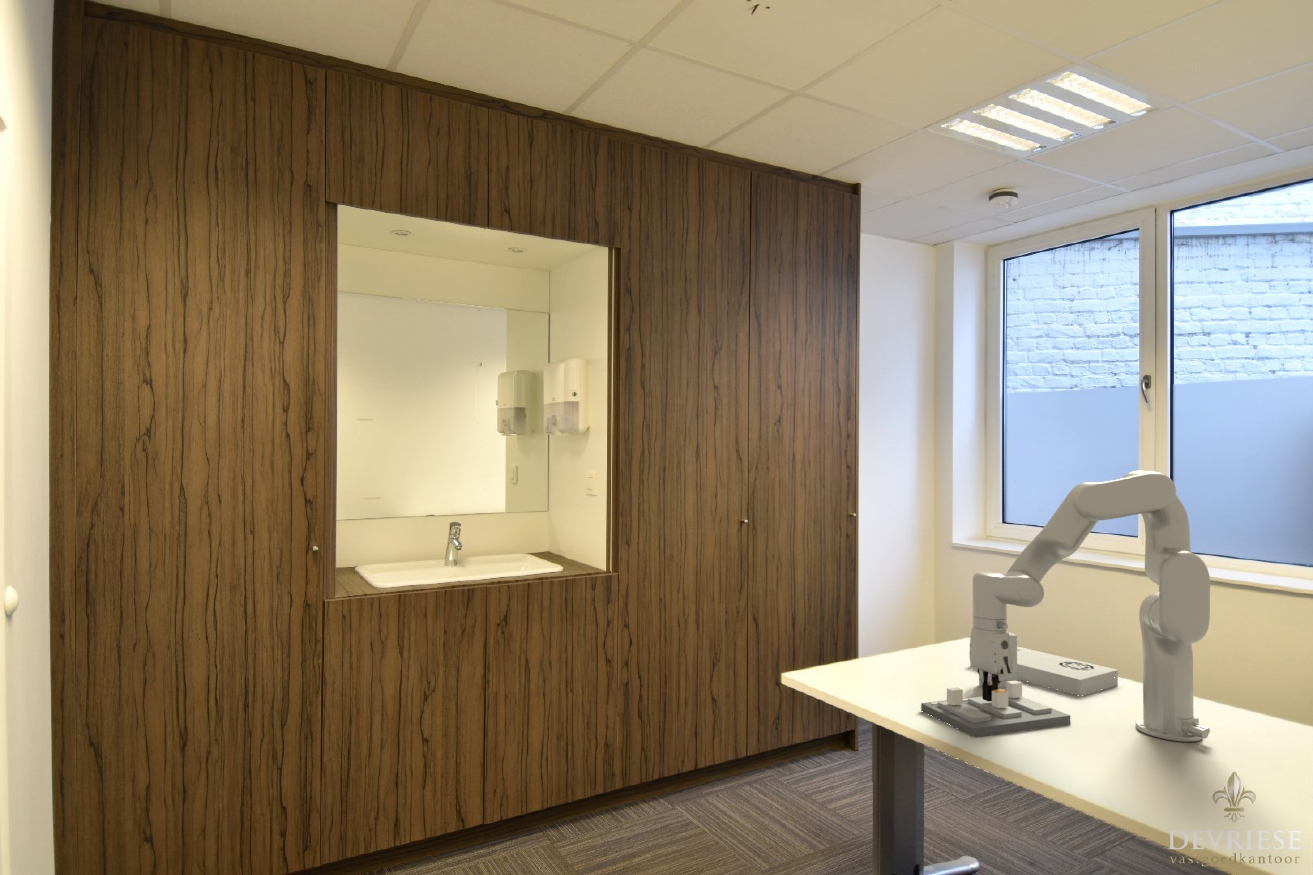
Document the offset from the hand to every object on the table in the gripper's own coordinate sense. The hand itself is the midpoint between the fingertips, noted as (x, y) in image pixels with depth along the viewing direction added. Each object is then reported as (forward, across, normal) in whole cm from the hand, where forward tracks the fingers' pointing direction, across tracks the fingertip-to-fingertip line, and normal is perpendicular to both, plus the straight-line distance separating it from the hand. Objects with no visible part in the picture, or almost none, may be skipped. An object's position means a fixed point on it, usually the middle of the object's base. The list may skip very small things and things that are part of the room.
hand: (990, 699), depth 181 cm
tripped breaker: (+1, -3, 0) cm, 3 cm away
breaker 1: (0, +2, +9) cm, 9 cm away
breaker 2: (+1, +2, -9) cm, 9 cm away
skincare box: (+4, +18, -19) cm, 26 cm away
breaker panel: (+4, -1, 0) cm, 4 cm away
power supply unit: (+5, +23, -39) cm, 46 cm away
